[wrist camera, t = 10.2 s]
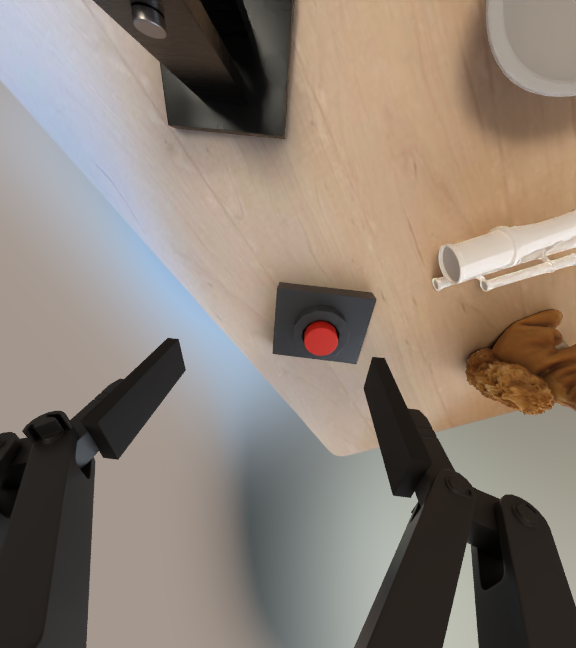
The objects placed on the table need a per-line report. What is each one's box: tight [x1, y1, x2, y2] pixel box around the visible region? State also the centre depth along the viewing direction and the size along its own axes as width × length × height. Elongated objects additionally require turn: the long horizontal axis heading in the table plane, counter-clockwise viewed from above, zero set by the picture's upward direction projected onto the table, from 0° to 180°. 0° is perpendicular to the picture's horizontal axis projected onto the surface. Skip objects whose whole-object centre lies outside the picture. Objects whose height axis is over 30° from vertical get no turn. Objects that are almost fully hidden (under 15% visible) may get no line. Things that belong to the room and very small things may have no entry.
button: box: [304, 321, 338, 356], centre depth 27 cm, size 4×4×2 cm
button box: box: [273, 282, 376, 364], centre depth 29 cm, size 12×10×4 cm
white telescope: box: [432, 209, 576, 291], centre depth 22 cm, size 8×14×5 cm
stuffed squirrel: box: [466, 309, 576, 415], centre depth 25 cm, size 10×14×13 cm
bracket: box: [93, 0, 294, 139], centre depth 14 cm, size 11×9×14 cm
